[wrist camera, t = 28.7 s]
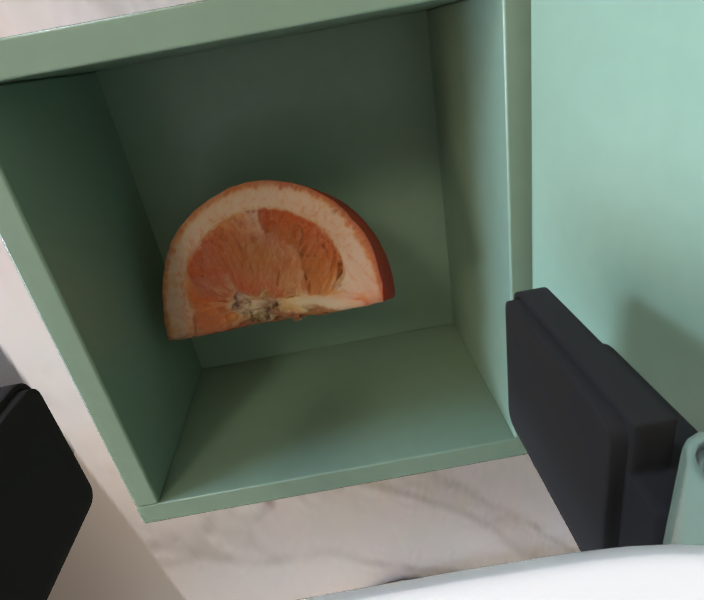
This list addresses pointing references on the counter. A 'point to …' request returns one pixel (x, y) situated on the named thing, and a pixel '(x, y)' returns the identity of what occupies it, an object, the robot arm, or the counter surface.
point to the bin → (289, 166)
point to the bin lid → (624, 180)
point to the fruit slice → (270, 260)
